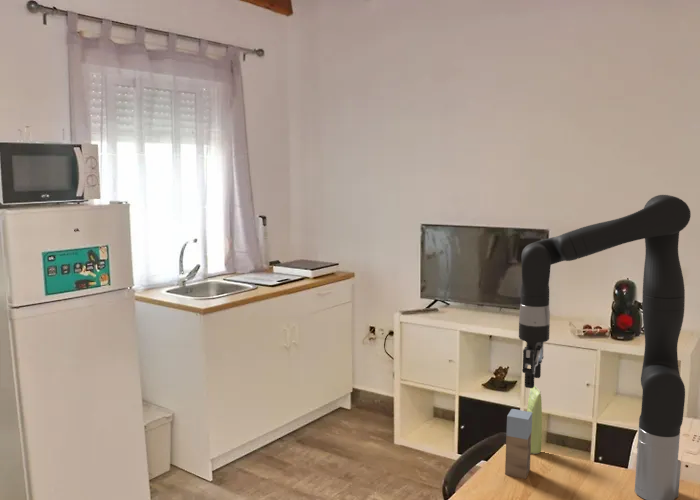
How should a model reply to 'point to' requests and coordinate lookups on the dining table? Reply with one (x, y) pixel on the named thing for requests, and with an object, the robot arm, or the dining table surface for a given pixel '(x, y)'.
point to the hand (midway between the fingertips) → (532, 382)
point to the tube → (535, 419)
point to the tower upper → (518, 447)
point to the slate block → (519, 424)
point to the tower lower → (517, 466)
